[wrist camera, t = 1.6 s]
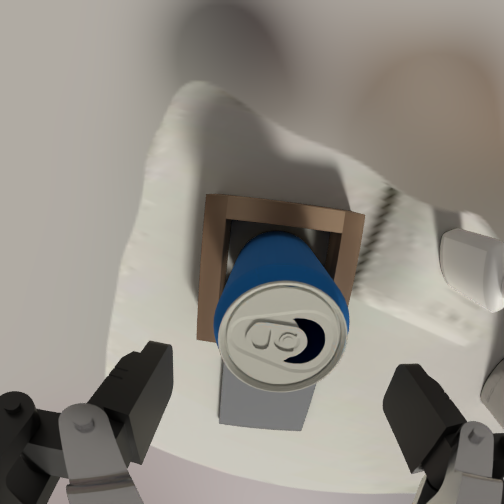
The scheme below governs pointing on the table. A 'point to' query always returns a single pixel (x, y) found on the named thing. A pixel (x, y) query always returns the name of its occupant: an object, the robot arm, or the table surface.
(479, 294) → the eye dropper bottle
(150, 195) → the table surface
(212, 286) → the walnut collar
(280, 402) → the rubber mat
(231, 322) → the beverage can
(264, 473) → the table surface
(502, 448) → the robot arm
